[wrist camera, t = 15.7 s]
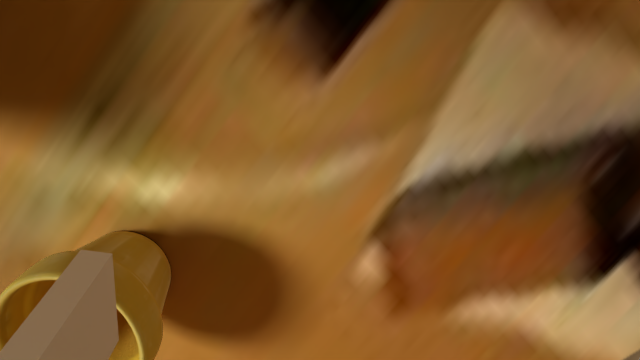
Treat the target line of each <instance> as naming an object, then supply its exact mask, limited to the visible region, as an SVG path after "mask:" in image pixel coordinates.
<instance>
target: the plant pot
mask: <svg viewBox="0 0 640 360" xmlns="http://www.w3.org/2000/svg"><path fill="white" fill-rule="evenodd" d="M80 250H88V251H96V252H104V253H112V256H113V269H114V282H115V296H116V309H117V322H118V336H119V341H118V342H117V344H116V346H115V348H114V350H113V352H112V353H111V355H110V357H109V359H108V360H154V358H155V356H156V354H157V352H158V350H159V347H160V344H161V341H162V335H163V322H162V316H161V314H162V311H163V307H164V303H165V300H166V296H167V292H168V289H169V285H170V282H171V269H170V265H169V262H168V259H167V257H166V256H165V254H164V252H163V251H162V250H161V248H160V247H159V246H158V245H157V244H156V243H154V242H153V241H152V240H150V239H149V238H147V237H145V236H143V235H140V234H137V233H134V232H128V231H117V232H112V233H109V234H106V235H104V236H102V237H100V238H98V239H97V240H95V241H93V242H91V243H89V244H87V245H85V246H83V247H81V248H79V249H77V250H75V251H67V252H61V253H57V254H54V255H51V256H48V257H46V258H44V259H42V260H41V261H39V262H38V263H36V264H35V265H33V266H32V267H31V268H29V269H28V270H27V271H25V272H24V273H23V274H22V275H21V276H19V277H18V278H17V279H16V280H15V281H14V282H12V283H11V284H10V285H9V286H8V287H7V288H6V289H5V290H4V291H3V292H2V294H1V295H0V351H1V350H2V349H3V347H4V346H5V345H6V344H7V342H8V341H9V340H10V338H11V337H12V336H13V335H14V333H15V332H16V331H17V330H18V328H19V327H20V326H21V325H22V323H23V322H24V321H25V320H26V318H27V317H28V316H29V314H30V313H31V312H32V311H33V309H34V308H35V307H36V306H37V304H38V303H39V302H40V301H41V299H42V298H43V297H44V296H45V294H46V293H47V292H48V290H49V289H50V288H51V287H52V285H53V284H54V283H55V282H56V280H57V279H58V278H59V277H60V275H61V274H62V273H63V272H64V270H65V269H66V268H67V267H68V265H69V264H70V263H71V261H72V260H73V259H74V258H75V256H76V255H77V254H78V253H79V251H80Z"/></svg>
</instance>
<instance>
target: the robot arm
mask: <svg viewBox="0 0 640 360" xmlns="http://www.w3.org/2000/svg"><path fill="white" fill-rule="evenodd" d="M118 341H119V336H118V322H117V309H116V296H115V282H114V269H113V256H112V253H104V252H96V251H88V250H80V251H79V253H78V254H77V255H76V256H75V258H74V259H73V260H72V261H71V263H70V264H69V265H68V267H67V268H66V269H65V270H64V272H63V273H62V274H61V275H60V277H59V278H58V279H57V280H56V282H55V283H54V284H53V285H52V287H51V288H50V289H49V290H48V292H47V293H46V294H45V296H44V297H43V298H42V299H41V301H40V302H39V303H38V304H37V306H36V307H35V308H34V309H33V311H32V312H31V313H30V314H29V316H28V317H27V318H26V320H25V321H24V322H23V323H22V325H21V326H20V327H19V328H18V330H17V331H16V332H15V333H14V335H13V336H12V337H11V338H10V340H9V341H8V342H7V344H6V345H5V346H4V347H3V349H2V350H1V351H0V360H108V359H109V357H110V355H111V353H112V352H113V350H114V348H115V346H116V344H117V342H118ZM639 360H640V359H639Z"/></svg>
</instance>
